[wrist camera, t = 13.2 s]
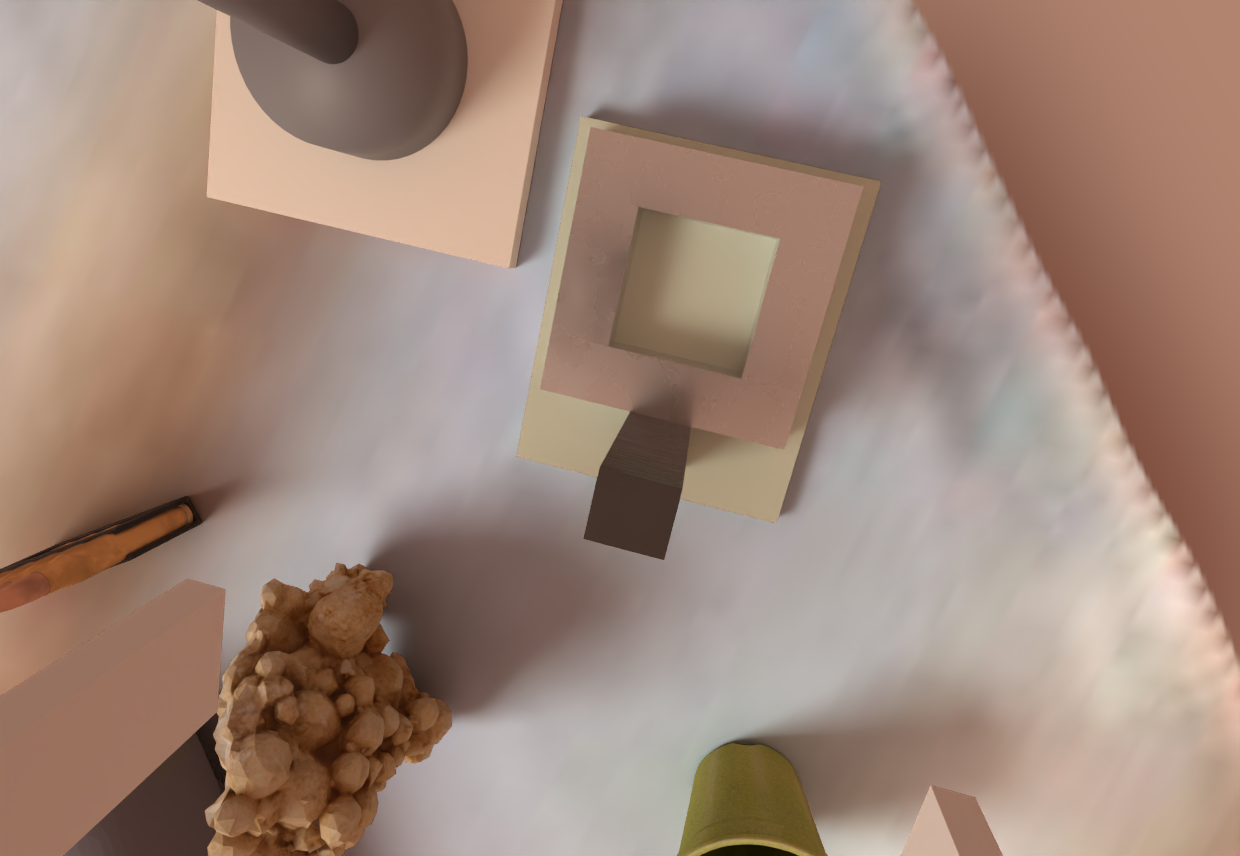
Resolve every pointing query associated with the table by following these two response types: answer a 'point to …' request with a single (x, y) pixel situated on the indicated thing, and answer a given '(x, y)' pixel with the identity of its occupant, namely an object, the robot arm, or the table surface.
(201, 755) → the bluetooth speaker
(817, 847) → the plant pot
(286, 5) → the stand
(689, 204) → the pink square frame
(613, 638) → the table surface
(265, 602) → the mineral formation
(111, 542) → the ammunition clip
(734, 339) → the mat
